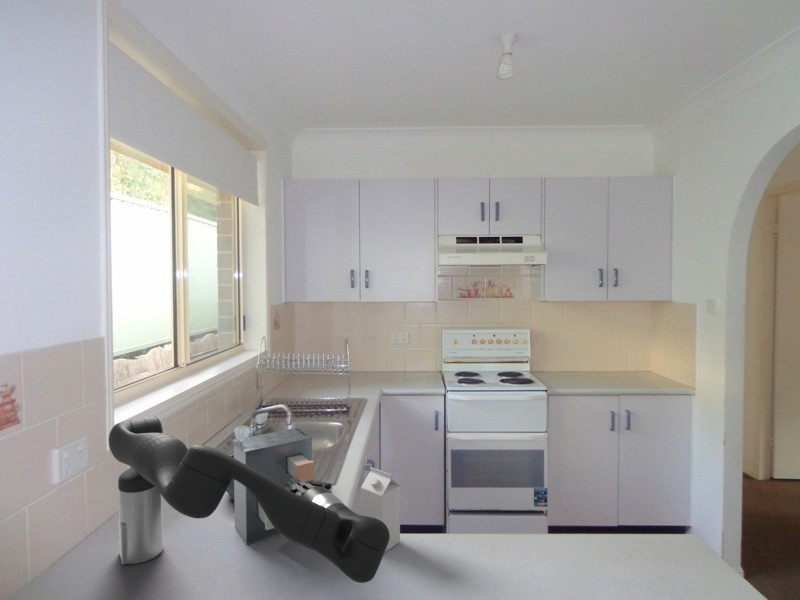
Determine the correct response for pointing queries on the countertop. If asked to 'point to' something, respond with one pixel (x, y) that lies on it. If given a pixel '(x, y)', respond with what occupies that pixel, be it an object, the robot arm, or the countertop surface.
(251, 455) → the control panel
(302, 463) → the terracotta button
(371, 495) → the milk carton
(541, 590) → the countertop surface
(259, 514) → the sage button
